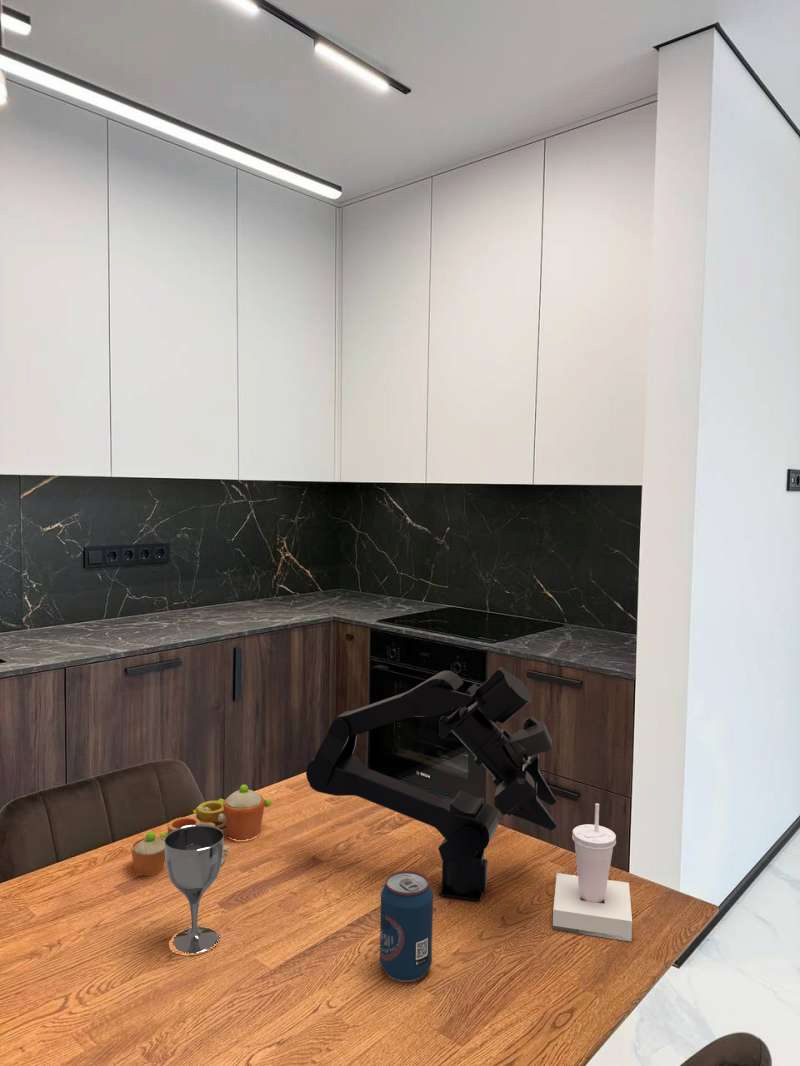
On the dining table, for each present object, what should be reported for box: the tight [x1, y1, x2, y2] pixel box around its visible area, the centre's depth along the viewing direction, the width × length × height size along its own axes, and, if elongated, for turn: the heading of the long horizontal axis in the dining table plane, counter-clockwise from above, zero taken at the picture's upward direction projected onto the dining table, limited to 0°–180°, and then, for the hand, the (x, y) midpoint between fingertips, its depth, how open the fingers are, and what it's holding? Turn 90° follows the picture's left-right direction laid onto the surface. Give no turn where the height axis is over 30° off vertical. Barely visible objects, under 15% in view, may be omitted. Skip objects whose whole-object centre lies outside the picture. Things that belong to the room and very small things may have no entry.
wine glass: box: [164, 824, 225, 954], centre depth 107 cm, size 8×8×15 cm
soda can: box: [379, 870, 434, 983], centre depth 102 cm, size 7×7×12 cm
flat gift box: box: [552, 872, 633, 943], centre depth 116 cm, size 11×11×3 cm
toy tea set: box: [130, 784, 272, 876], centre depth 135 cm, size 26×16×10 cm, turn 159°
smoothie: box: [571, 803, 617, 902], centre depth 115 cm, size 6×6×14 cm
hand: (554, 815), depth 119 cm, fingers open, 9 cm apart
